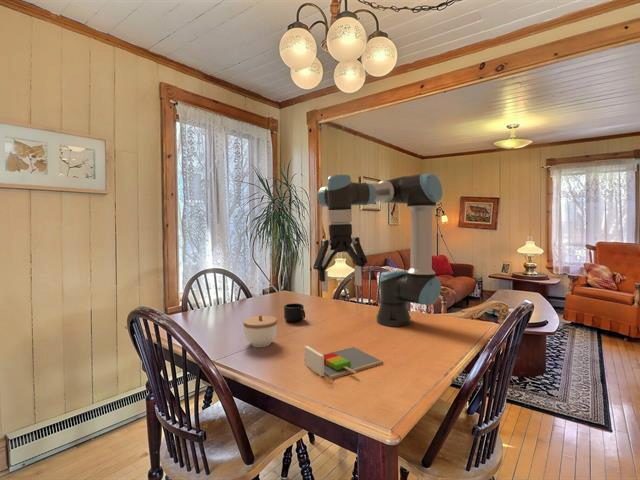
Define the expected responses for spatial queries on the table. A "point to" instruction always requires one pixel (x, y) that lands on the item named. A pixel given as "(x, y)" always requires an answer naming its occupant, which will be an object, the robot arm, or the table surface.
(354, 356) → the slate board
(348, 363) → the popsicle
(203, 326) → the table surface
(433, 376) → the table surface
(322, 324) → the table surface
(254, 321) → the lidded bowl
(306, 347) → the word card
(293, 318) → the mug
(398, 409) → the table surface
